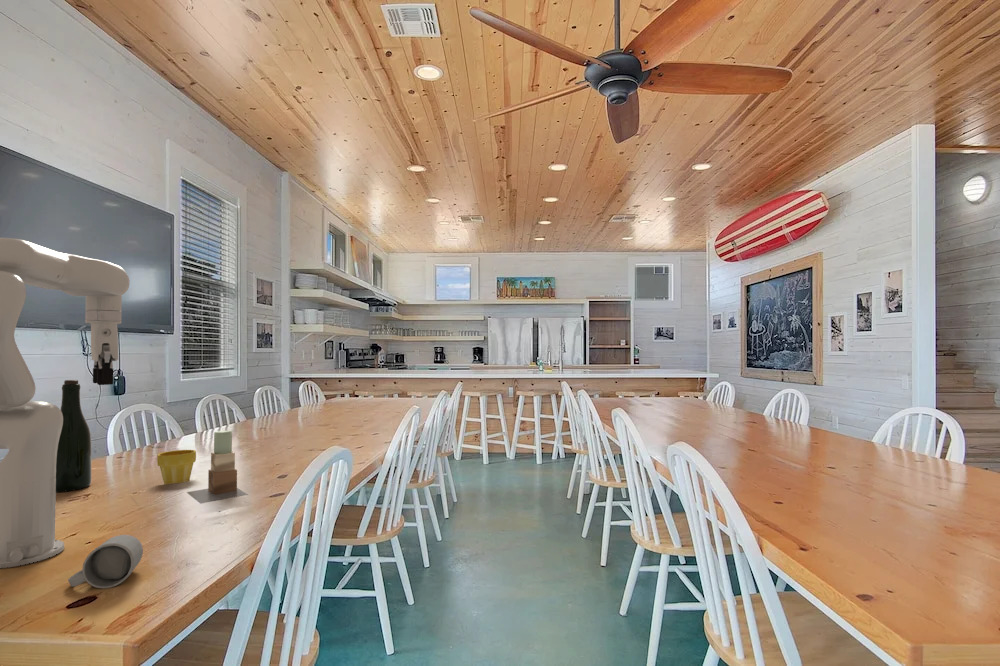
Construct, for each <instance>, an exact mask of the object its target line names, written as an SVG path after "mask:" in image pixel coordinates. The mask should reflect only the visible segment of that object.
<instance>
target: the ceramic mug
mask: <svg viewBox="0 0 1000 666" xmlns="http://www.w3.org/2000/svg"><path fill="white" fill-rule="evenodd" d="M143 552H144V548H143V545H142V543H141V541H140V540H139V539H138V538H137V537H135V536H133V535H130V534H120V535H115V536H113V537H110V538H109V539H107V540H106V541H104V542H103V543H102V544H100V545H98V546H97V547H96V548H94V549H93V550H92V551H91V552H90V553H89V554H88V555H87V556H86V558H85V559H84V562H83V564H82V569H81V570H79V571H78V572H76V573H74V574H73V575H72V576H70V577H69V578H68V579H67V581H68V584H69V585H70V587H73V588H74V587H77V586H79V585H82V584H83V583H88V584H89V585H90V586H91V587H94V588H96V589H97V588H98V589H111V588H114V587H117V586H118V585H120V584H122V583H123V582H125V580H127V579H128V578H129V577H130V575H131V574H132V573H133V572H134V570H135V569H136V568H137V566H138V565H139V563H140V562H141V560H142V557H143Z"/></svg>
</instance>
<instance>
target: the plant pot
mask: <svg viewBox="0 0 1000 666" xmlns="http://www.w3.org/2000/svg"><path fill="white" fill-rule="evenodd" d="M196 459H197V450H195V449H177V450H169V451H164V452H163V451H162V452H159V453H158V454H157V456H156V464H157V466H159V469H160V472H161V476H162V477H161V478H162V480H163V484H164V485H165V486H166V485H171V484H180V483H185V482H189V481H190V480H191V476H192V472H193V466H194V464H195V462H196Z"/></svg>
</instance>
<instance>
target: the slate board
mask: <svg viewBox="0 0 1000 666" xmlns="http://www.w3.org/2000/svg"><path fill="white" fill-rule="evenodd" d="M186 493H187V494H188V495H189V496H191V497H192V498H193V499H194V500H195V501H197V502H198V503H199V504H205V503H209V502H210V503H211V502H215V501H221V500H226V499H231V498H237V497H242V496H247V495H248V493H246V492H245V491H243V490H241V489H240V488H239V487H237V491H232V492H226V493H221V494H215V495H214V494H212V493H211V492H210V491H208V488H203V489H198V490H191V491H187V492H186Z"/></svg>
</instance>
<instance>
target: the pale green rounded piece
mask: <svg viewBox="0 0 1000 666" xmlns="http://www.w3.org/2000/svg"><path fill="white" fill-rule="evenodd" d="M213 438H214V439H213V452H214V454H227V453H231V452H232V451H233V431H232V430H217V431H214V432H213Z"/></svg>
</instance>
